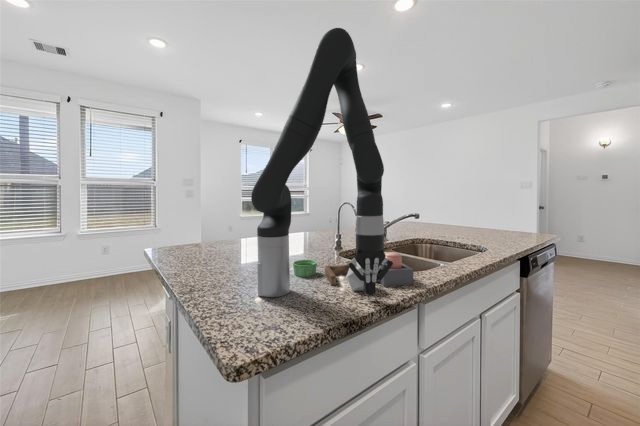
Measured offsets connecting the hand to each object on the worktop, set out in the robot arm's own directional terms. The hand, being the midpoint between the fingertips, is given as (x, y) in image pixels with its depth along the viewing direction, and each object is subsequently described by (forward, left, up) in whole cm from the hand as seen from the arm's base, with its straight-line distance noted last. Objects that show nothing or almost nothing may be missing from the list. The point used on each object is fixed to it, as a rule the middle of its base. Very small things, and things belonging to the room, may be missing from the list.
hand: (369, 294), depth 76 cm
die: (0, +9, -2) cm, 9 cm away
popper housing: (+13, +15, -2) cm, 20 cm away
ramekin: (-15, +29, -2) cm, 33 cm away
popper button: (+13, +15, +2) cm, 20 cm away
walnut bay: (0, +21, -2) cm, 21 cm away
